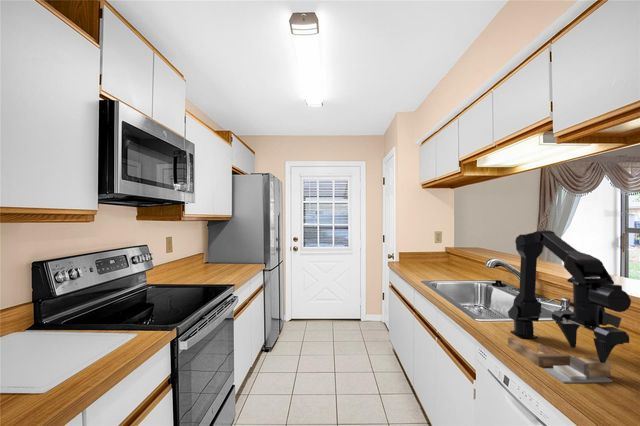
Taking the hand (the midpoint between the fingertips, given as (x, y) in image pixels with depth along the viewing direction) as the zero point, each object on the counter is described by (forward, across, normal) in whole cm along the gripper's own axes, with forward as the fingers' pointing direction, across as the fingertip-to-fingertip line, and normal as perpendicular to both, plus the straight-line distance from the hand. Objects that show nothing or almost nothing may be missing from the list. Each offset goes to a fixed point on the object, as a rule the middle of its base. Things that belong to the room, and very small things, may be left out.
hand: (587, 354), depth 86 cm
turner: (+6, 0, +1) cm, 6 cm away
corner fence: (+6, +13, +5) cm, 15 cm away
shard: (+7, +14, +2) cm, 16 cm away
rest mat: (+6, 0, +3) cm, 7 cm away
